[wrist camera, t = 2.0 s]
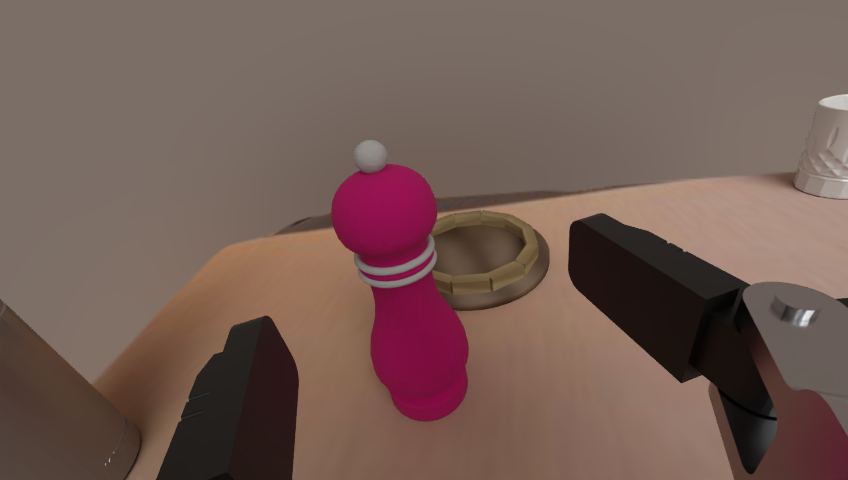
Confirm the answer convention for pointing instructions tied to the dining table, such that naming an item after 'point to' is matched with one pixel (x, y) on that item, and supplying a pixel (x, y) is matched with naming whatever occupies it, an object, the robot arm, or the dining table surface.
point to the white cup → (826, 151)
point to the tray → (486, 259)
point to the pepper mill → (402, 284)
